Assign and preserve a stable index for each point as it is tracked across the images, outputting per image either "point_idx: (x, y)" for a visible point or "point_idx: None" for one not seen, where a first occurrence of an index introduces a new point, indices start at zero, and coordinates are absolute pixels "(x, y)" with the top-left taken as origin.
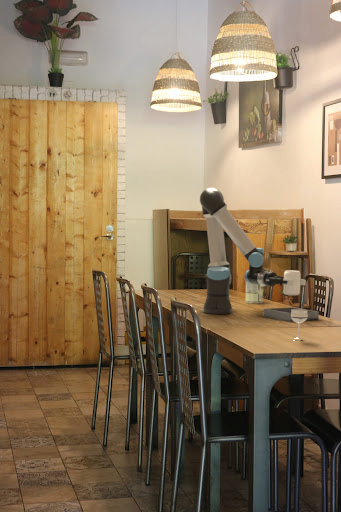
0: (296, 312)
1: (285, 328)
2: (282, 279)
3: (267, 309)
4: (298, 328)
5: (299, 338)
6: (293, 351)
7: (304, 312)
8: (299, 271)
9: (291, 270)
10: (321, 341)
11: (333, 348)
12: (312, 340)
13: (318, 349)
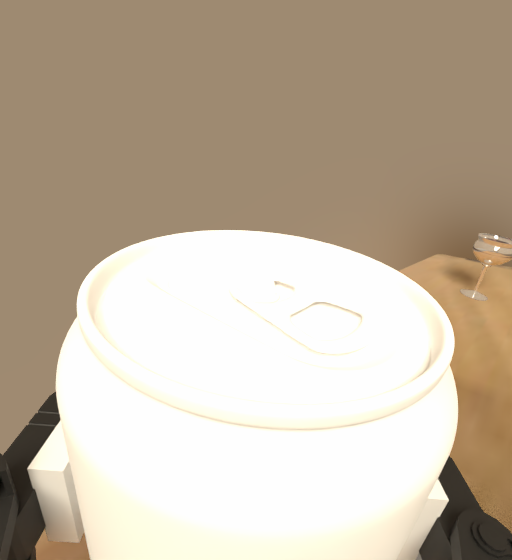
0: (506, 241)
1: (463, 373)
2: (458, 518)
3: None
4: (483, 273)
5: (473, 290)
6: (507, 269)
7: (487, 236)
8: (196, 235)
9: (122, 355)
10: (429, 277)
11: (433, 258)
12: (443, 285)
13: (461, 263)
